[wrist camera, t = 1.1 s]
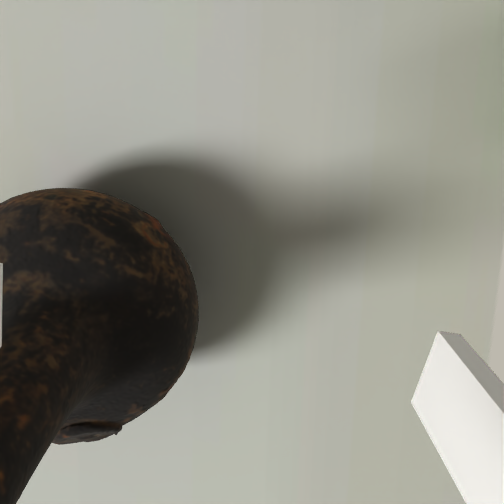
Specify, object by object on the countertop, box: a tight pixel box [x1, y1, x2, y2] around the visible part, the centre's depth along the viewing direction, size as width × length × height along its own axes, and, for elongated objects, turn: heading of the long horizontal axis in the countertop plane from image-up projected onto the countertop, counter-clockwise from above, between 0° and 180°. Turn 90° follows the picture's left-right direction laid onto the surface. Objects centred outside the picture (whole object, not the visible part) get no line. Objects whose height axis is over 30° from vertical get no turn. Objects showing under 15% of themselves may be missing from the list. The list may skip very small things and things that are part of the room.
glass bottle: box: [0, 188, 198, 504], centre depth 27 cm, size 18×18×28 cm
